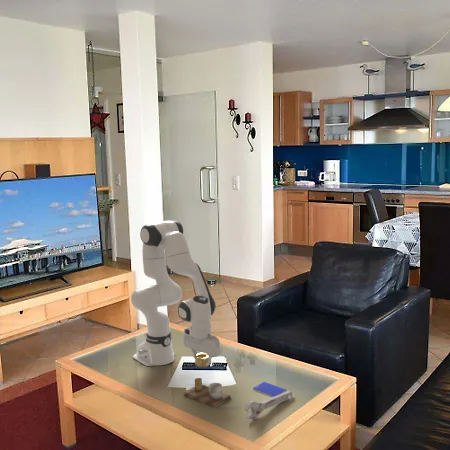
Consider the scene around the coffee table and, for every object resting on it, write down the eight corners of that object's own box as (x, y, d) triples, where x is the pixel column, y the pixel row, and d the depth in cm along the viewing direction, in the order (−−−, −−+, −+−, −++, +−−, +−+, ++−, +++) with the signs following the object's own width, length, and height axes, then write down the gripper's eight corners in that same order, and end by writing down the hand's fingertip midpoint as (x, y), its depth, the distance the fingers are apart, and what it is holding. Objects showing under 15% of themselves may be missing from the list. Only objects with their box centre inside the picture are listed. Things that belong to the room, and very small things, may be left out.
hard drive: (252, 387, 238) (275, 396, 230) (264, 381, 244) (286, 389, 235) (252, 390, 238) (275, 399, 230) (264, 384, 244) (286, 392, 236)
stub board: (184, 395, 235) (183, 381, 234) (199, 386, 242) (199, 373, 241) (214, 407, 223) (214, 392, 222) (230, 398, 231) (230, 384, 230)
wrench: (292, 404, 230) (246, 424, 208) (288, 402, 232) (243, 422, 210) (293, 385, 230) (247, 404, 208) (289, 384, 231) (244, 402, 209)
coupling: (192, 364, 248) (192, 356, 247) (202, 359, 253) (201, 351, 252) (202, 368, 244) (202, 359, 243) (212, 363, 249) (212, 355, 248)
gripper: (223, 335, 241) (223, 364, 244) (190, 324, 254) (191, 352, 257) (214, 339, 236) (214, 369, 239) (181, 328, 250) (181, 356, 252)
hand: (202, 360), depth 248 cm, fingers closed on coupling, 6 cm apart
